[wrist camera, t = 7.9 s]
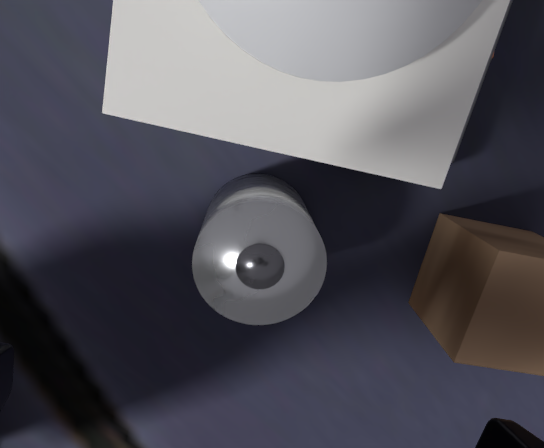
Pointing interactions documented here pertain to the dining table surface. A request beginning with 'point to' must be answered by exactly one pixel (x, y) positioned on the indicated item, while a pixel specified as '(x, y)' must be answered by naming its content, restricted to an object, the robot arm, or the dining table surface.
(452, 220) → the walnut block
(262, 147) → the kitchen scale
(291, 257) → the steel weight with knob
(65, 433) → the dining table surface
